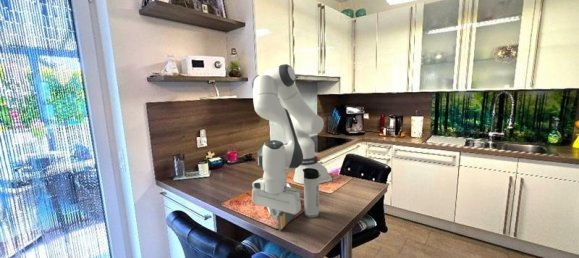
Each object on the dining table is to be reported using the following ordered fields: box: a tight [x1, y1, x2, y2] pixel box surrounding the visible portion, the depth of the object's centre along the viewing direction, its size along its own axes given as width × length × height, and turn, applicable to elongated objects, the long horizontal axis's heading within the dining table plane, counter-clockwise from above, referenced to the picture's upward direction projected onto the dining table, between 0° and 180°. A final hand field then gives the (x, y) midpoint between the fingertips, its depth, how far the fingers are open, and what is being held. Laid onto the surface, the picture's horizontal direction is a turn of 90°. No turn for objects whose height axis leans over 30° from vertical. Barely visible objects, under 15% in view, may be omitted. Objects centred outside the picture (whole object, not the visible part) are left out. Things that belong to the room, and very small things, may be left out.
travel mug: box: [303, 168, 320, 219], centre depth 103 cm, size 6×7×20 cm
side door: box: [277, 211, 297, 231], centre depth 99 cm, size 16×1×6 cm, turn 153°
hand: (276, 218), depth 95 cm, fingers closed
